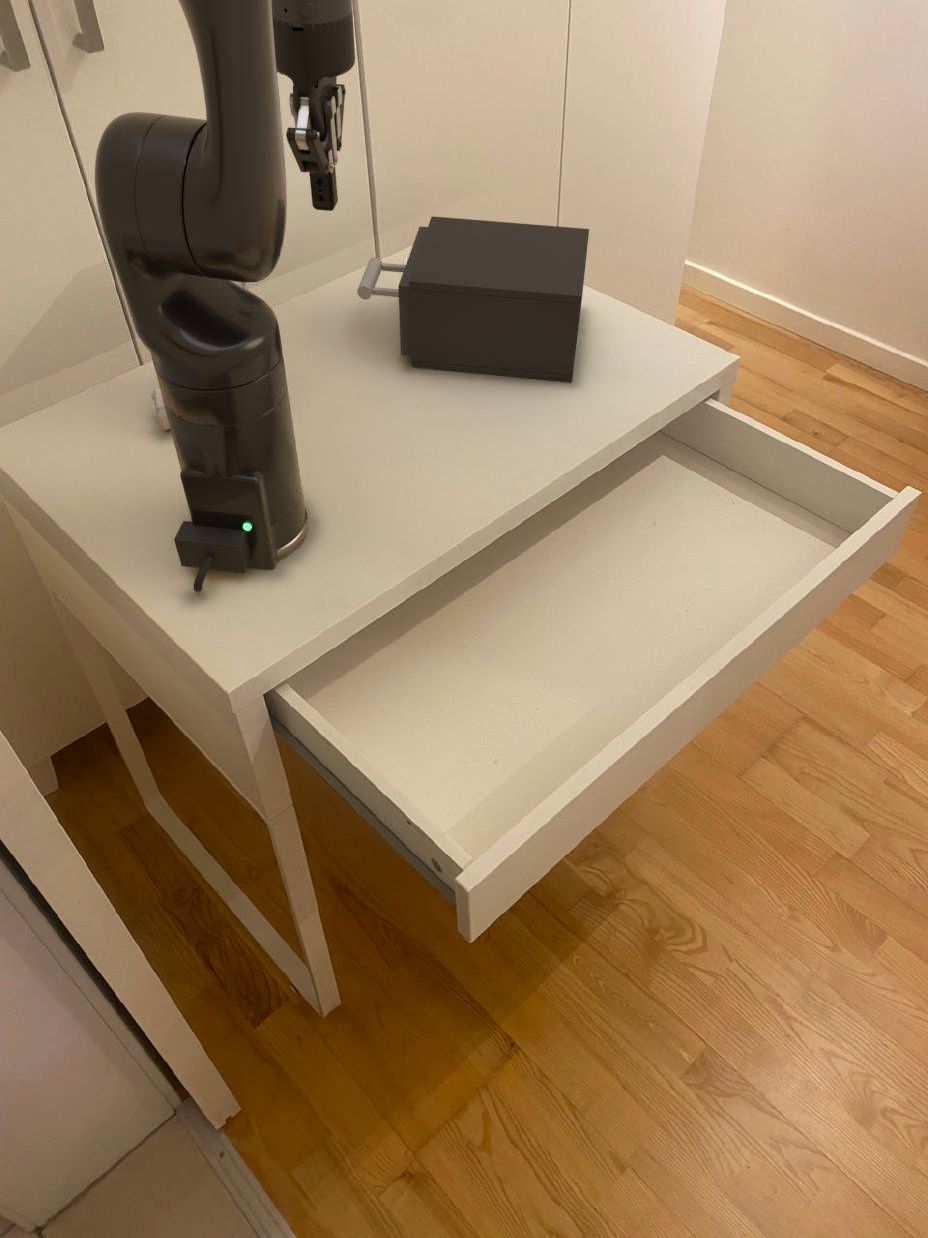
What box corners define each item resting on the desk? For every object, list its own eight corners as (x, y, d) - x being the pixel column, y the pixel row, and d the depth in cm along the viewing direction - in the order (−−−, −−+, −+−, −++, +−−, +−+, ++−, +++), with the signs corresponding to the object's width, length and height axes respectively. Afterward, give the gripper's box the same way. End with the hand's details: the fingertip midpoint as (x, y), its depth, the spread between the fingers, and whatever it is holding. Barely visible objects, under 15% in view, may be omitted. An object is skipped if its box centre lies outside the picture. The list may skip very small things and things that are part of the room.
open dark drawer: (353, 351, 99) (348, 281, 93) (377, 290, 107) (373, 222, 102) (550, 369, 98) (557, 299, 92) (559, 305, 106) (566, 237, 100)
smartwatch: (183, 435, 91) (174, 399, 88) (159, 438, 90) (150, 403, 87) (179, 413, 93) (171, 377, 90) (157, 416, 93) (147, 381, 90)
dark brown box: (411, 367, 99) (409, 280, 92) (432, 299, 108) (431, 215, 101) (571, 382, 98) (582, 295, 91) (579, 312, 107) (589, 228, 100)
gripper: (285, -20, 86) (305, 176, 99) (242, 26, 78) (270, 234, 90) (367, -14, 86) (376, 181, 99) (333, 32, 77) (348, 241, 90)
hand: (325, 206), depth 94 cm, fingers closed
